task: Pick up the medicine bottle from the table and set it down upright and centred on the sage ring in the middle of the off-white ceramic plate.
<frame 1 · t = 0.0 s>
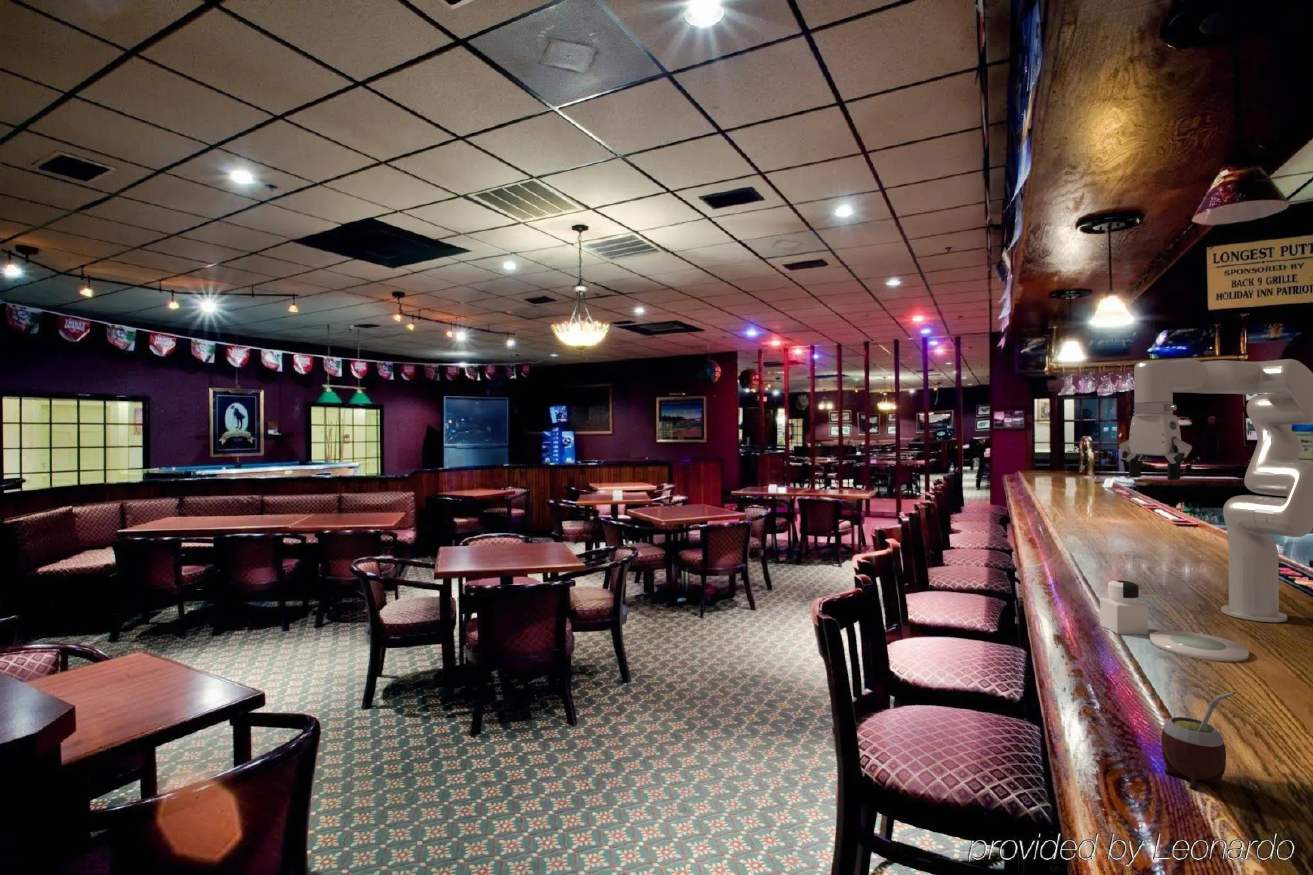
hand: (1153, 478, 157), 37 cm above the counter, tool pointing down, fingers open, 9 cm apart
mate gourd: (1197, 783, 90), on the counter
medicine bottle: (1123, 631, 156), on the counter
plate: (1197, 647, 143), on the counter
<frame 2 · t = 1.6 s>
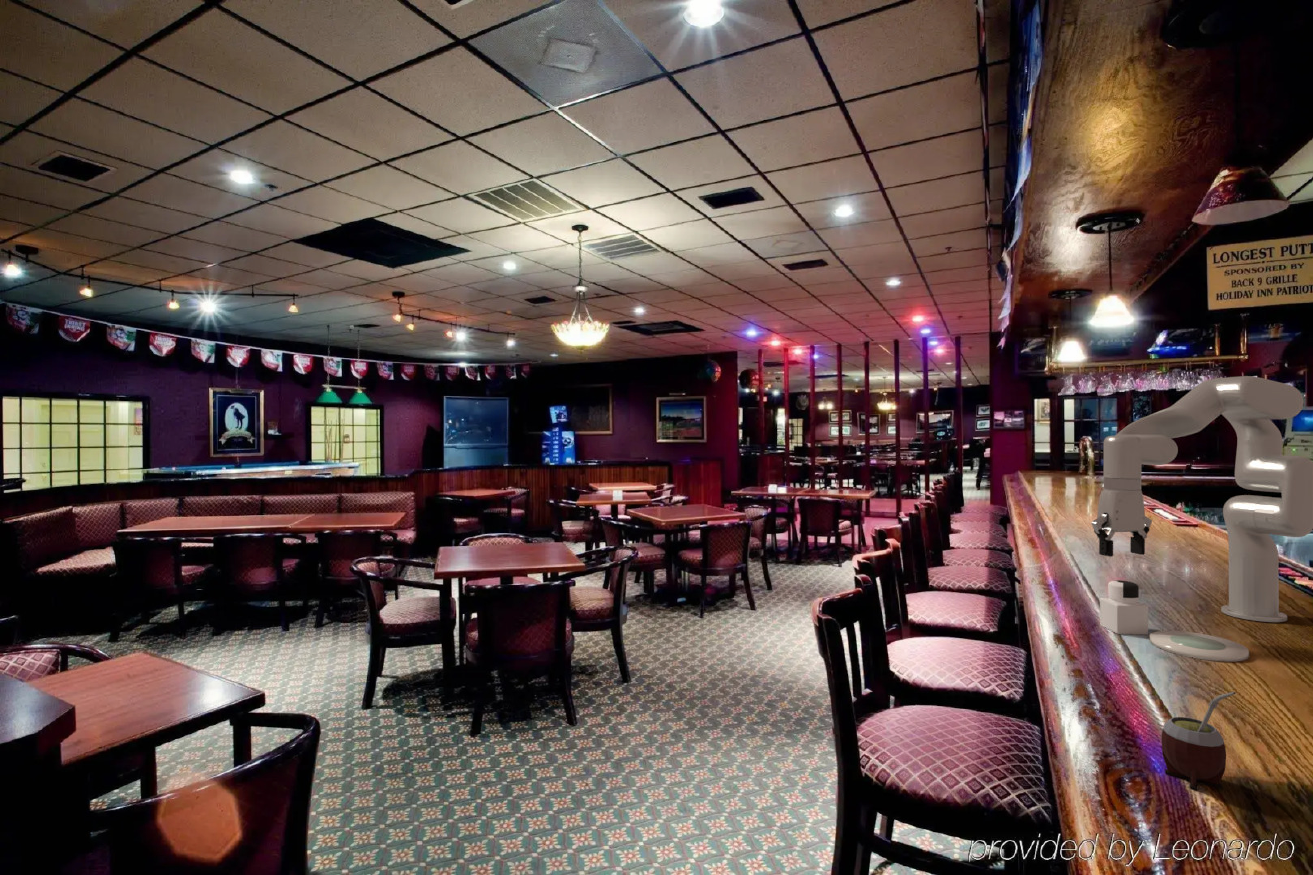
hand: (1121, 554, 155), 19 cm above the counter, tool pointing down, fingers open, 9 cm apart
nothing on the counter moved.
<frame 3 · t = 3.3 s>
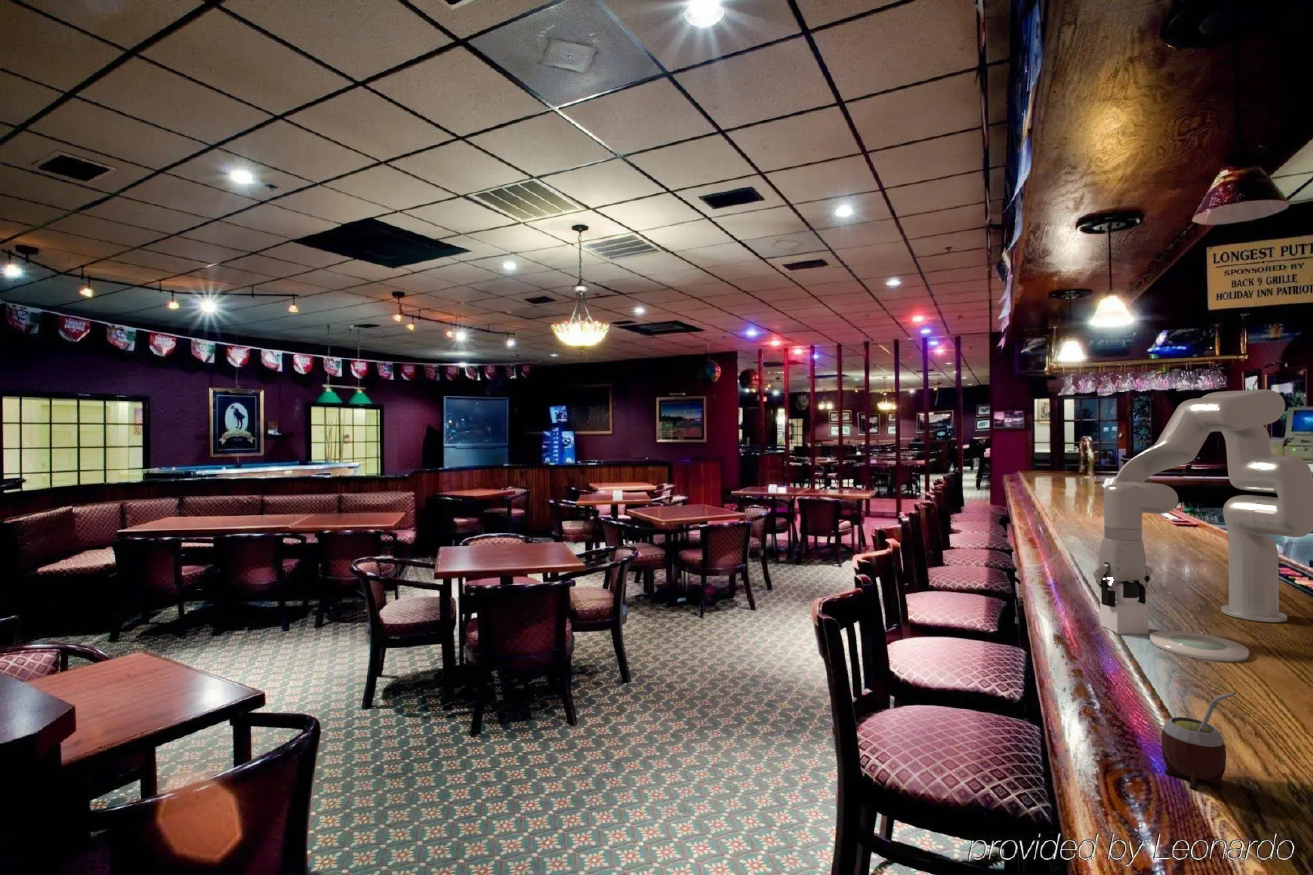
hand: (1123, 604, 156), 6 cm above the counter, tool pointing down, fingers closed on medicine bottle, 8 cm apart
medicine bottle: (1123, 631, 156), on the counter, touching gripper
everything else where it was.
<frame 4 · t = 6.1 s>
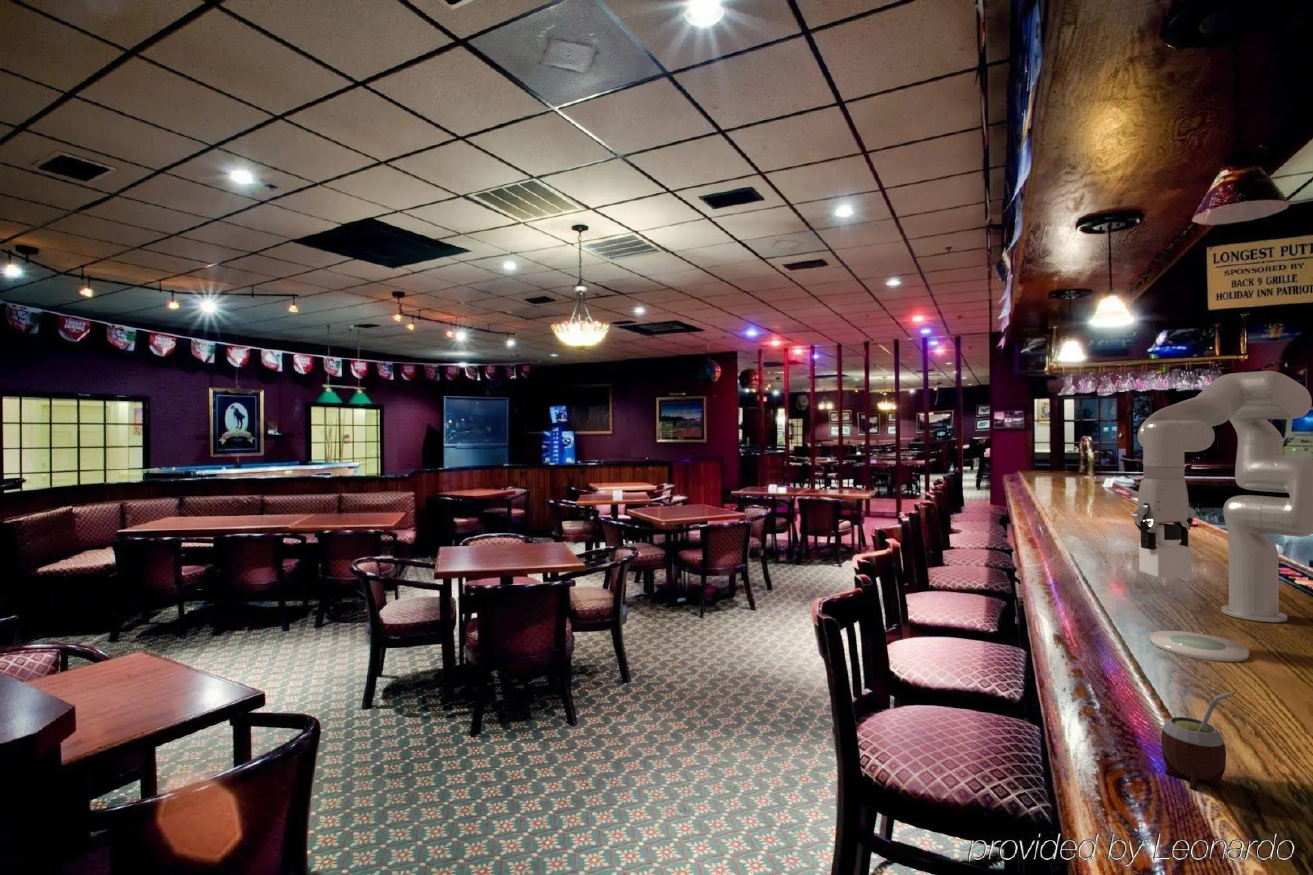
hand: (1164, 547, 148), 22 cm above the counter, tool pointing down, fingers closed on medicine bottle, 8 cm apart
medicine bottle: (1164, 575, 148), point 15 cm above the counter, touching gripper
everything else where it was.
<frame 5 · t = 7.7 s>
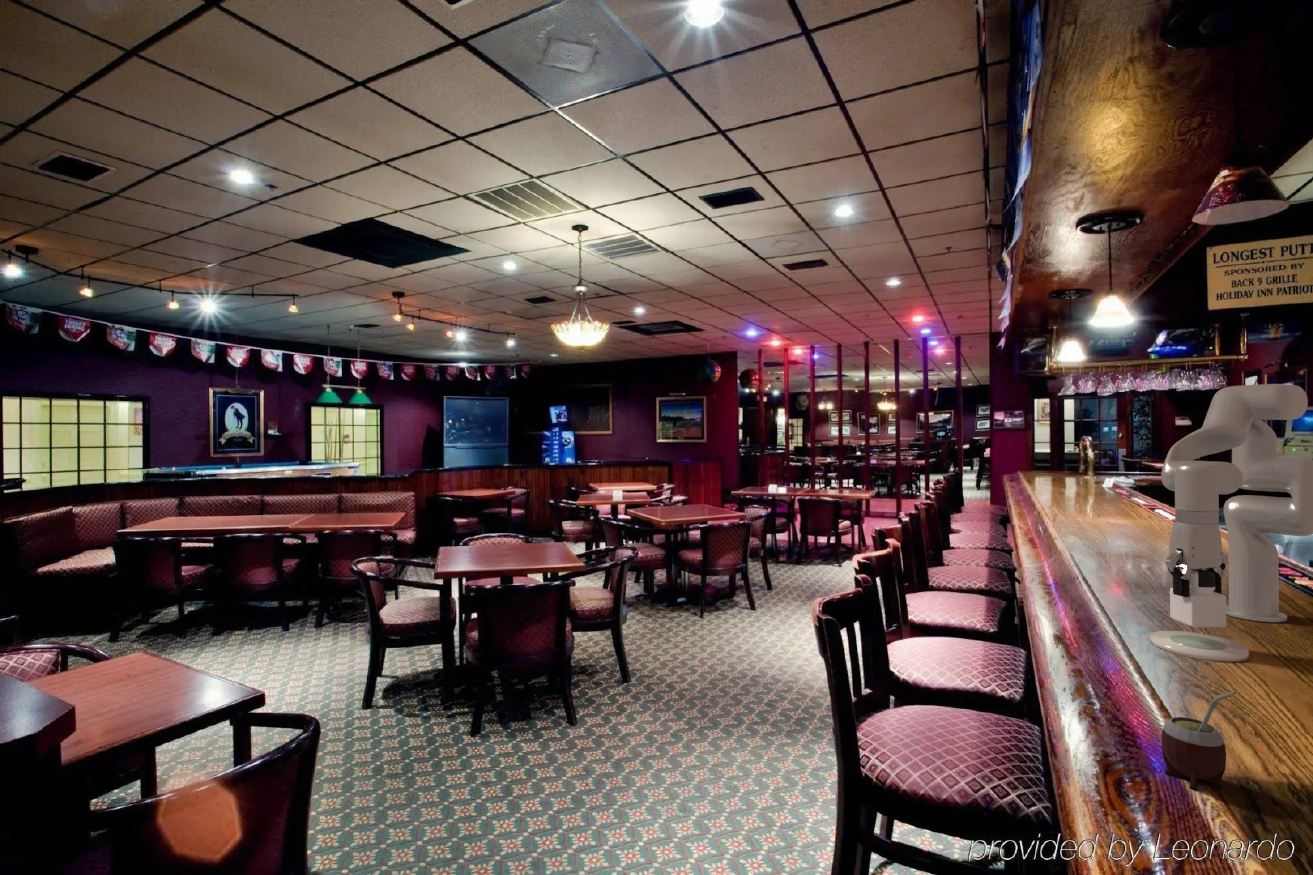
hand: (1197, 594, 142), 12 cm above the counter, tool pointing down, fingers closed on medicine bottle, 8 cm apart
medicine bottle: (1197, 623, 143), point 6 cm above the counter, touching gripper
everything else where it was.
when the fingers open (8 cm above the counter, at t = 9.2 s): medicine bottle stays where it is, resting on plate.
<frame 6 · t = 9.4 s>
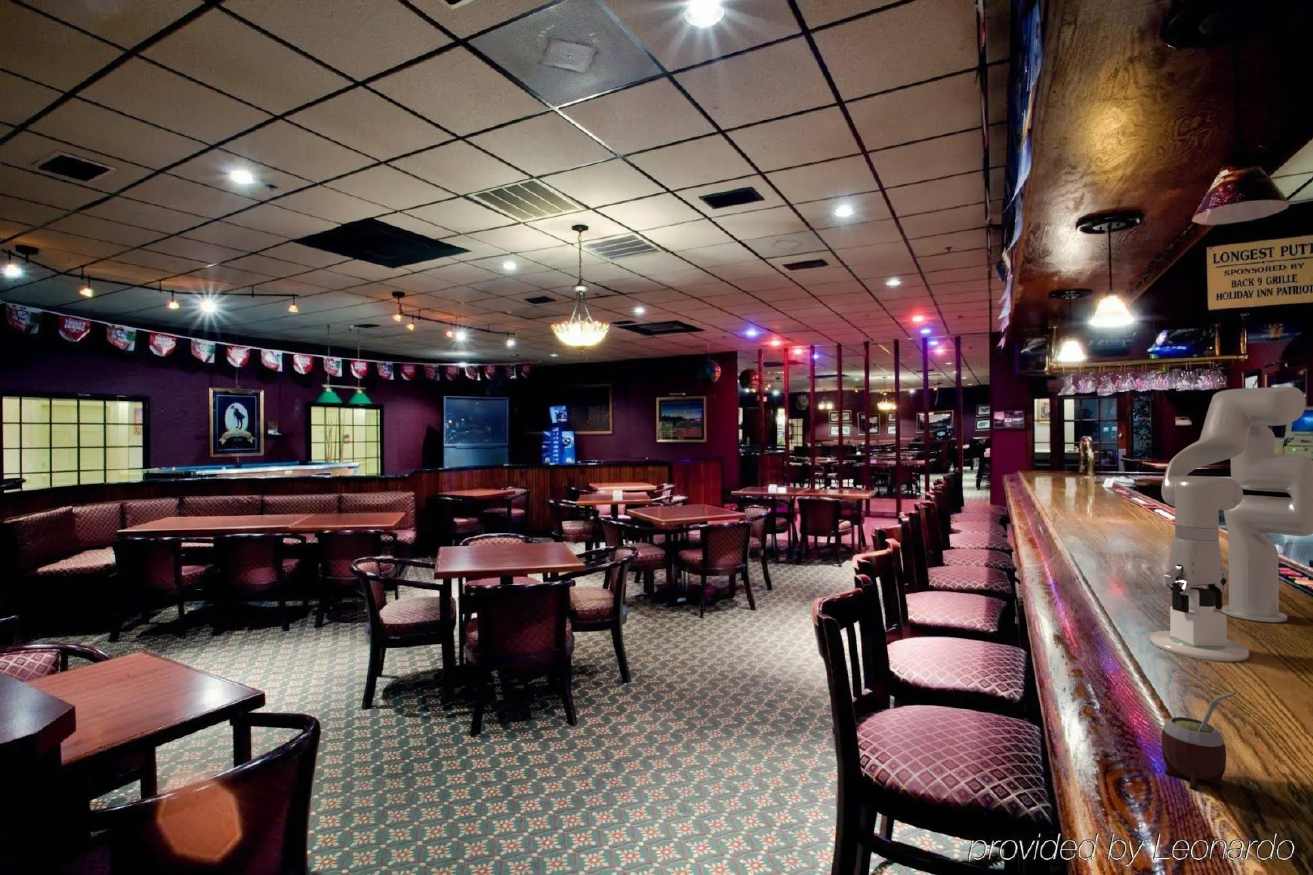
hand: (1197, 609, 142), 9 cm above the counter, tool pointing down, fingers open, 9 cm apart
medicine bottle: (1197, 642, 143), point 1 cm above the counter, touching plate
everything else where it was.
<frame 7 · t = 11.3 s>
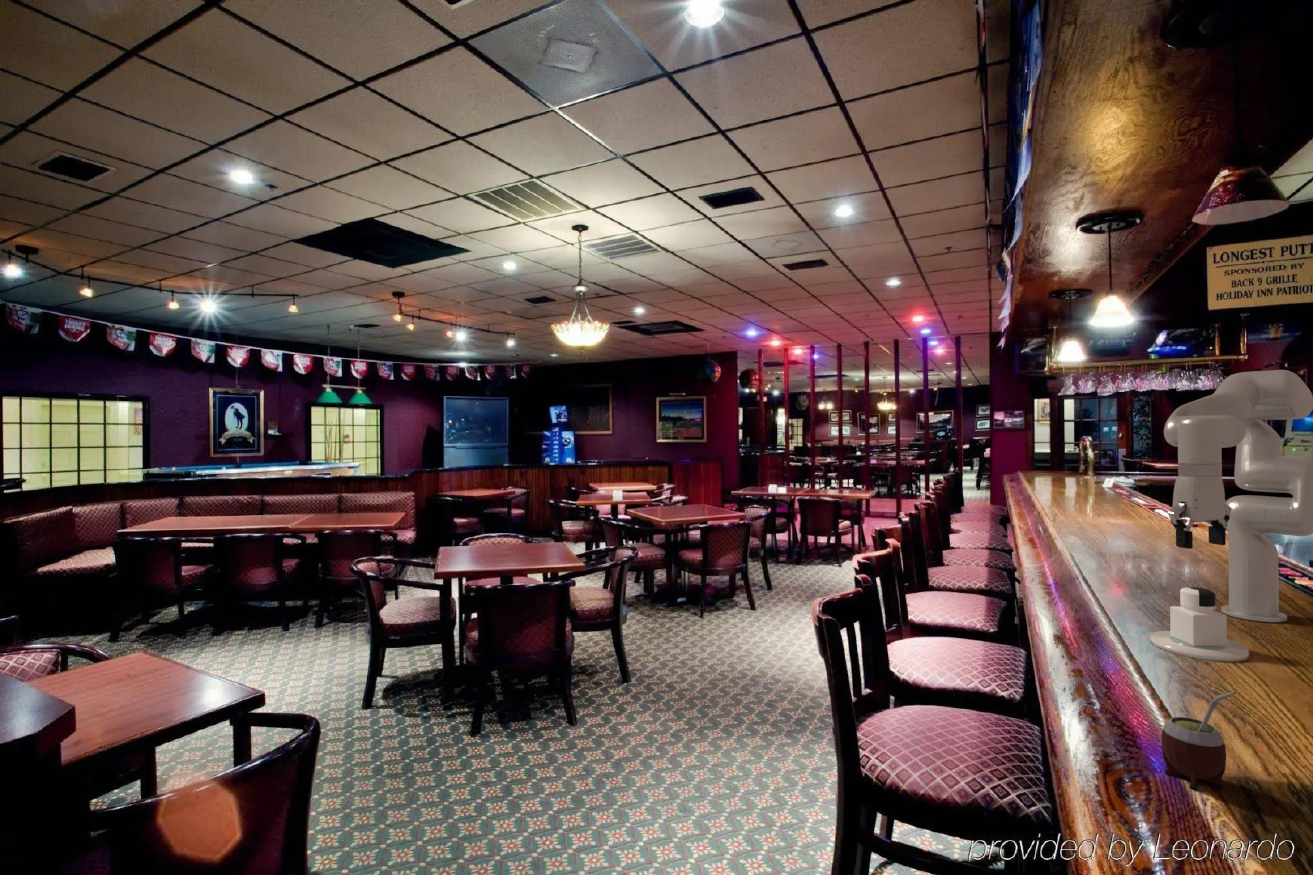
hand: (1200, 546, 144), 23 cm above the counter, tool pointing down, fingers open, 9 cm apart
nothing on the counter moved.
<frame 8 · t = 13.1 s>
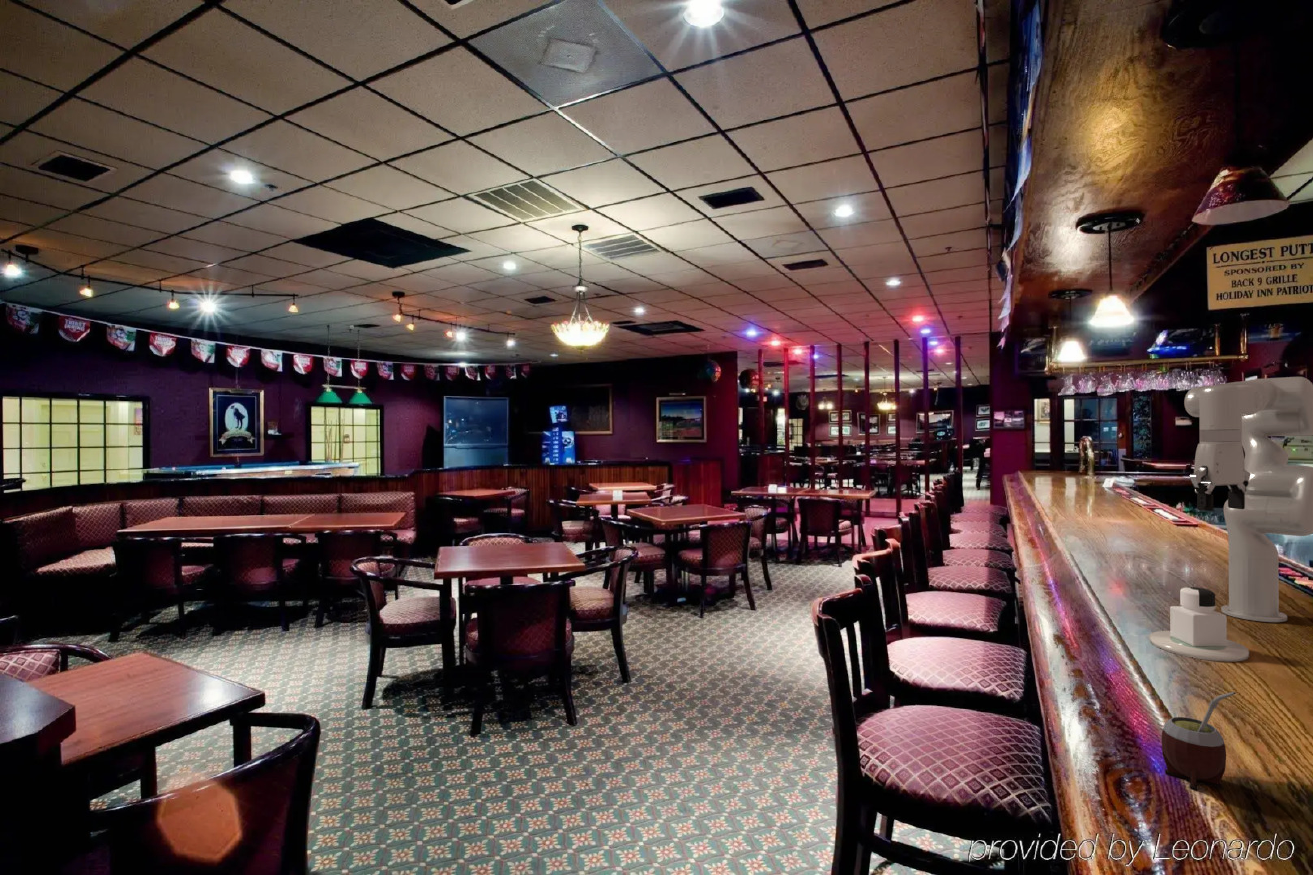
hand: (1220, 509, 150), 30 cm above the counter, tool pointing down, fingers open, 9 cm apart
nothing on the counter moved.
at the end: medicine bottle 0.2 cm off-centre on the plate, point 1.2 cm above the plate's base; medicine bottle tilted 0°; the gripper is holding nothing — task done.
